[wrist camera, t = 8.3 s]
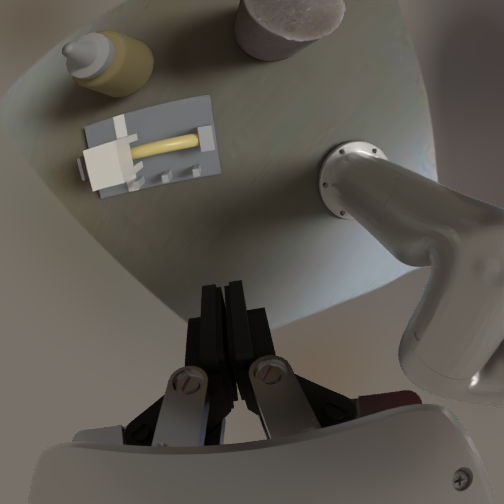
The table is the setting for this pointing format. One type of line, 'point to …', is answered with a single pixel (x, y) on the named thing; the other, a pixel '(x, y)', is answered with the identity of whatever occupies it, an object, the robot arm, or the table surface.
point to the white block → (111, 163)
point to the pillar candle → (284, 25)
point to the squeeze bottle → (109, 62)
